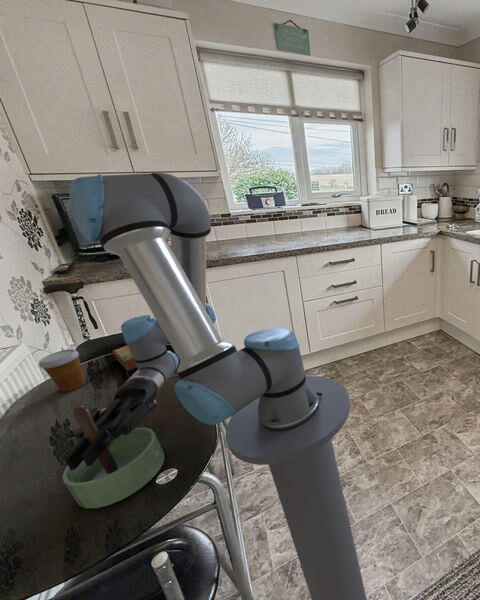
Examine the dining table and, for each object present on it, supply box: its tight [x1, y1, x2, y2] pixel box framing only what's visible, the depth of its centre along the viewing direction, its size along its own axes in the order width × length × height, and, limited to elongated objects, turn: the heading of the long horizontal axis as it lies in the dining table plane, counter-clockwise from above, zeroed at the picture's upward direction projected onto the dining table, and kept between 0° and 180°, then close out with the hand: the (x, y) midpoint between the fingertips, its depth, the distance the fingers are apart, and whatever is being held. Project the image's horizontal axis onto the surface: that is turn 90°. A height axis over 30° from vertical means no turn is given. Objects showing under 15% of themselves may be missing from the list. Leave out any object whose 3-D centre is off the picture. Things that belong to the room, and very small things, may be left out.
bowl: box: [62, 426, 165, 510], centre depth 70 cm, size 15×15×7 cm
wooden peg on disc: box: [72, 405, 133, 480], centre depth 67 cm, size 7×7×19 cm
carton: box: [112, 345, 138, 372], centre depth 124 cm, size 8×16×4 cm, turn 52°
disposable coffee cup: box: [38, 348, 87, 392], centre depth 109 cm, size 10×10×12 cm
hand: (78, 462), depth 61 cm, fingers closed on wooden peg on disc, 2 cm apart
